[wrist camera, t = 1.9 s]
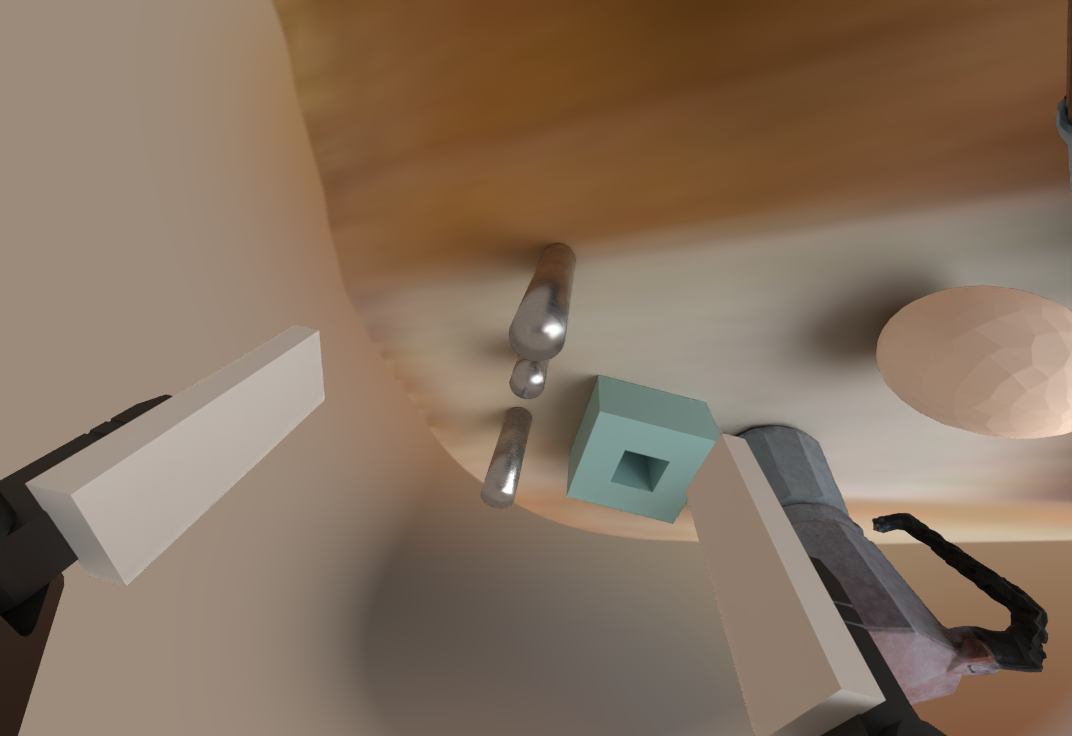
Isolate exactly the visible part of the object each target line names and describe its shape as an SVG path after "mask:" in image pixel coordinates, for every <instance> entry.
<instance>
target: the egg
mask: <svg viewBox="0 0 1072 736" xmlns="http://www.w3.org/2000/svg"><path fill="white" fill-rule="evenodd" d="M876 359H877V363H878V368H879V371H880V373H881V375H882V377H883V379H884V381H885V383H886V384H887V385H888V386H889V387H890V388H891V390H892V391H893V392H894V393H895V394H896V395H897V396H898V397H899V398H900V399H901V400H902V401H904V402H905V403H907V404H908V405H910V406H911V407H912V408H914V409H915V410H917V411H918V412H920V413H922V414H924V415H926V416H928V417H930V418H932V419H934V420H936V421H938V422H940V423H942V424H945V425H949V426H952V427H956V428H960V429H963V430H967V431H971V432H974V433H979V434H983V435H988V436H996V437H1004V438H1019V439H1032V438H1041V437H1049V436H1056V435H1063V434H1066V433H1069V432H1072V311H1071V310H1069V309H1067V308H1066V307H1064V306H1063V305H1061V304H1059V303H1057V302H1054V301H1052V300H1049V299H1046V298H1044V297H1041V296H1038V295H1036V294H1033V293H1030V292H1026V291H1022V290H1017V289H1012V288H1003V287H995V286H969V287H960V288H951V289H947V290H943V291H939V292H935V293H932V294H930V295H927V296H925V297H922V298H920V299H918V300H915V301H913V302H911V303H910V304H908V305H906V306H905V307H903V308H902V309H901V310H899V311H898V312H897V313H896V314H895V315H894V316H893V317H892V318H890V320H889V321H888V322H887V324H886V325H885V326H884V328H883V329H882V331H881V334H880V336H879V338H878V343H877V353H876Z"/></svg>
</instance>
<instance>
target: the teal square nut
mask: <svg viewBox="0 0 1072 736" xmlns="http://www.w3.org/2000/svg"><path fill="white" fill-rule="evenodd" d="M719 436H720V432H719V430H718V428H717V426H716V424H715V421H714V419H713V417H712V415H711V413H710V410H709V408H708V406H707V404H706V403H705V402H701V401H697V400H693V399H690V398H686V397H682V396H678V395H674V394H670V393H666V392H662V391H659V390H655V389H651V388H647V387H643V386H639V385H635V384H632V383H628V382H624V381H620V380H616V379H612V378H608V377H604V376H601V375H598V378H597V381H596V383H595V386H594V389H593V392H592V394H591V397H590V400H589V402H588V405H587V408H586V411H585V413H584V416H583V419H582V422H581V424H580V427H579V430H578V432H577V435H576V438H575V441H574V443H573V446H572V449H571V452H570V454H569V468H568V482H567V497H571V498H575V499H579V500H583V501H587V502H590V503H594V504H598V505H602V506H606V507H610V508H614V509H618V510H622V511H625V512H629V513H633V514H637V515H641V516H645V517H649V518H653V519H657V520H660V521H664V522H668V523H672V524H673V523H674V521H675V520H676V518H677V516H678V515H679V513H680V512H681V510H682V509H683V507H684V506H685V504H686V502H687V501H688V499H687V495H686V492H685V491H686V489H687V488H688V486H689V484H690V483H691V481H692V479H693V478H694V476H695V475H696V473H697V471H698V470H699V468H700V467H701V465H702V463H703V462H704V460H705V459H706V457H707V455H708V454H709V452H710V451H711V449H712V447H713V446H714V444H715V442H716V441H717V439H718V438H719Z"/></svg>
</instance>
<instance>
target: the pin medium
mask: <svg viewBox="0 0 1072 736" xmlns="http://www.w3.org/2000/svg"><path fill="white" fill-rule="evenodd" d="M531 421H532V416H531V414H530V413H529V412H528V411H527V410H526V409H524V408H521V407H514V408H511V409H510V410H508V412H507V414H506V417H505V420H504V423H503V426H502V429H501V432H500V435H499V438H498V441H497V445H496V448H495V451H494V454H493V457H492V460H491V463H490V466H489V469H488V472H487V475H486V478H485V482H484V485H483V488H482V491H481V498H482V500H483V501H484V502H485V503H486V504H487V505H489V506H491V507H494V508H499V509H502V508H507V507H509V506H510V505H512V504H513V502H514V498H515V493H516V489H517V484H518V480H519V475H520V471H521V466H522V462H523V457H524V453H525V448H526V444H527V439H528V435H529V430H530V426H531Z"/></svg>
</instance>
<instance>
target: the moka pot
mask: <svg viewBox="0 0 1072 736" xmlns="http://www.w3.org/2000/svg"><path fill="white" fill-rule="evenodd" d="M736 437H739V438H743V439H745V440H746V442H747V444H748V446H749V448H750V449H751V451H752V453H753V455H754V457H755V459H756V461H757V462H758V464H759V466H760V468H761V470H762V472H763V473H764V475H765V477H766V479H767V481H768V483H769V485H770V486H771V488H772V490H773V492H774V494H775V496H776V498H777V499H778V501H779V503H780V505H781V507H782V509H783V510H784V512H785V514H786V516H787V518H788V520H789V522H790V523H791V525H792V527H793V529H794V531H795V533H796V535H797V536H798V538H799V540H800V542H801V544H802V546H803V547H804V549H805V551H806V553H807V555H808V556H810V557H814V558H818V559H820V560H821V561H822V563H823V564H824V565H825V566H826V567H827V568H828V569H829V570H830V572H831V573H832V574H833V575H834V576H835V577H836V578H837V579H838V581H839V582H840V584H841V585H842V587H843V589H844V591H845V592H846V594H847V596H848V597H849V599H850V601H851V603H852V604H853V605H852V608H853V609H855V610H856V611H857V613H858V615H859V616H860V618H861V620H862V622H863V623H864V629H865V630H868V632H869V634H870V635H871V637H872V639H873V641H874V642H875V644H876V646H877V647H878V649H879V651H880V653H881V654H882V656H883V658H884V659H885V661H886V663H887V665H888V666H889V668H890V670H891V672H892V673H893V675H894V677H895V678H896V680H897V682H898V684H899V685H900V687H901V689H902V690H903V692H904V694H905V696H906V697H907V699H908V701H909V703H910V704H911V705H913V704H916V703H920V702H924V701H927V700H931V699H934V698H938V697H941V696H945V695H949V694H952V693H954V691H955V690H956V689H957V686H958V683H959V681H960V680H961V676H962V675H967V676H979V675H988V674H994V673H996V672H997V671H998V670H999V669H1006V670H1015V671H1023V672H1042V669H1043V666H1042V662H1043V659H1045V658H1046V653H1045V652H1044V651H1043V645H1042V644H1041V643H1045V644H1046V643H1047V640H1048V634H1047V632H1046V630H1045V627H1046V625H1047V623H1048V618H1047V613H1046V612H1045V610H1044V609H1043V608H1042V607H1041V606H1039V605H1038V604H1037V603H1036V602H1035V601H1034V600H1033V599H1032V598H1031V597H1030V596H1029V595H1028V594H1027V593H1025V592H1024V591H1023V590H1021V589H1020V588H1019V587H1018V586H1016V585H1014V584H1011V583H1010V582H1009V581H1007V580H1006V579H1005V578H1004V577H1000V576H999V575H998V574H997V573H996V572H994V571H992V570H991V569H989V568H987V567H986V566H984V565H983V564H981V563H980V562H978V561H976V560H975V559H974V558H972V557H971V556H969V555H968V554H966V553H964V552H963V551H962V550H961V549H960V548H959V547H957V546H956V545H954V544H952V543H950V542H948V541H946V540H945V539H944V538H943V537H942V536H941V535H940V534H939V533H937V532H936V531H933V530H931V529H929V528H928V526H926V525H925V524H923V523H921V522H920V521H919V520H918V519H916V518H915V517H913V516H912V515H911V514H909V513H897V514H892V515H887V516H880V517H878V518H874V519H873V520H872V521H873V524H874V525H873V530H875V531H878V532H882V533H885V532H888V531H892V530H896V529H899V530H905V531H906V532H908V533H909V534H910V535H911V536H912V537H914V538H915V539H917V540H919V541H921V542H923V543H925V544H926V545H928V546H930V547H931V549H932V550H933V551H934V552H935V553H936V554H937V555H938V556H939V557H941V558H942V559H943V560H945V561H946V563H947V564H948V565H950V566H952V567H954V568H955V569H956V570H957V571H958V572H959V573H960V574H962V575H963V576H965V577H966V578H968V579H969V580H971V581H972V582H974V583H975V584H976V585H977V587H978V588H979V589H981V590H983V591H984V592H985V593H987V594H988V595H989V596H990V597H991V598H992V599H994V600H995V601H997V602H999V603H1000V604H1002V605H1004V606H1006V607H1007V608H1008V609H1009V611H1010V612H1011V625H1010V626H1009V627H1008V628H1007V629H1006V630H1005V631H991V630H987V629H984V628H980V627H977V626H961V627H954V628H951V629H948V628H946V627H944V626H943V625H942V624H941V623H940V622H939V621H938V620H937V619H936V617H935V616H934V615H933V614H932V613H931V611H930V610H929V609H928V608H927V607H926V606H925V604H924V603H923V602H922V601H921V599H920V598H919V597H918V596H917V595H916V594H915V592H914V591H913V590H912V589H911V588H910V587H909V585H908V584H907V583H906V582H905V580H904V579H903V578H902V577H901V576H900V574H899V573H898V572H897V571H896V570H895V568H894V567H893V566H892V564H891V563H890V562H889V561H888V560H887V559H886V557H885V556H884V555H883V553H882V552H881V551H880V550H879V549H878V548H877V546H876V545H875V544H874V543H873V542H872V541H869V540H868V539H867V538H866V537H864V534H863V530H862V528H861V527H860V526H859V525H858V524H856V523H855V522H853V521H852V520H851V518H850V517H849V514H848V510H847V508H846V506H845V503H844V501H843V498H842V495H841V493H840V491H839V489H838V487H837V485H836V483H835V481H834V478H833V475H832V473H831V470H830V468H829V466H828V464H827V461H826V458H825V456H824V454H823V451H822V449H821V447H820V445H819V443H818V441H816V440H815V439H813V438H812V437H811V436H809V435H808V434H806V433H804V432H802V431H800V430H797V429H794V428H790V427H780V426H770V427H760V428H755V429H752V430H749V431H747V432H745V433H743V434H741V435H738V436H736Z"/></svg>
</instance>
